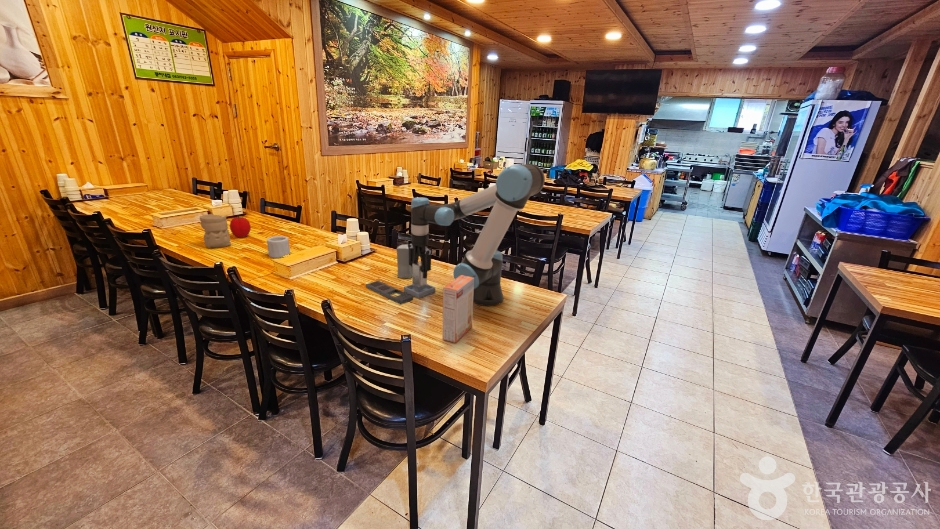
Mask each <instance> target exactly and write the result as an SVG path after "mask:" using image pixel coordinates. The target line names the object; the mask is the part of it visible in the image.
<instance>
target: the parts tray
mask: <svg viewBox="0 0 940 529" xmlns="http://www.w3.org/2000/svg"><path fill="white" fill-rule="evenodd" d="M403 292H405V293H407V294H409V295H411V296H413V298H416V299H418V300H420V299H422V298H425V297H426V296H430V295H432V294H436V287H435V286H433V285H430V284H428V283H427V288H426V289H424V290H421V291H418V290H416V289H413V288H412V284H411V283H410V284H409V285H406V286H404V287H403Z"/></svg>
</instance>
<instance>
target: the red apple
mask: <svg viewBox="0 0 940 529" xmlns="http://www.w3.org/2000/svg"><path fill="white" fill-rule="evenodd" d="M229 229H230V231H231V233H232V235H233V237H236V238H246V237H247V236H249V234H250V233H251V224H250V221H249V220H248V219H247V218H245V217H244V216H242V217H241V216H237V217H233V218H232V219H231V220H230V223H229Z"/></svg>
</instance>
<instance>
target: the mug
mask: <svg viewBox="0 0 940 529" xmlns="http://www.w3.org/2000/svg"><path fill="white" fill-rule="evenodd" d="M289 240H290V239H289V237H287V236H283V235H275V236H272V237H267V239H266V243H267V244H266V245H267V253H268V256H269V258H271V259H281V258H280V257H283V256H285V255H288V254H290V255H291V248H290V241H289Z"/></svg>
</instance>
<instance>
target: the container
mask: <svg viewBox="0 0 940 529" xmlns="http://www.w3.org/2000/svg"><path fill="white" fill-rule="evenodd" d="M199 221H200V227H201V229H203V230H204V231H203V232H204V234H203V241H204V246H206V247H207V248H225V247H228V246H231V245H232V243H231V237H230V232H229V226H228V221H227V216H226V215H224V216H222V215H217V214H213V213H209V214H208V213H207V214H203V215H200V216H199Z"/></svg>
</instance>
